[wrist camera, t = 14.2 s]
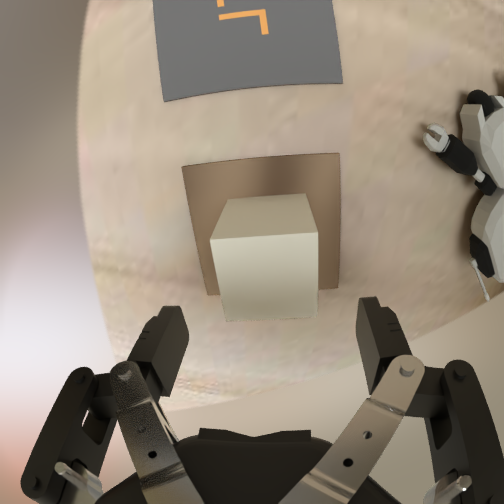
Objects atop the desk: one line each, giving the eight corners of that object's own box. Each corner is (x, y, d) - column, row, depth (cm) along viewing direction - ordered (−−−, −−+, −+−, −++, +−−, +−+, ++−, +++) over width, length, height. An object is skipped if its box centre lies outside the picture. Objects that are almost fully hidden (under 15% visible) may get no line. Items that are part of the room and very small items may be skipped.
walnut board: (338, 153, 17) (339, 153, 17) (337, 285, 22) (337, 288, 22) (182, 166, 19) (181, 167, 18) (208, 293, 23) (207, 295, 23)
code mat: (317, -57, 10) (318, -59, 10) (341, 83, 15) (342, 83, 15) (152, -35, 11) (150, -37, 11) (165, 101, 17) (163, 101, 16)
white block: (305, 193, 19) (317, 232, 13) (307, 261, 21) (317, 317, 16) (227, 199, 19) (209, 239, 14) (237, 265, 21) (226, 321, 16)
